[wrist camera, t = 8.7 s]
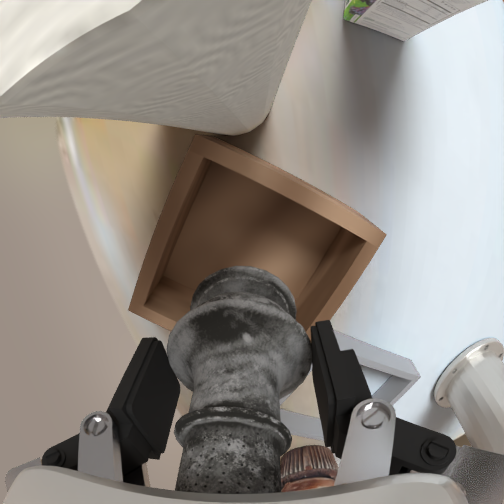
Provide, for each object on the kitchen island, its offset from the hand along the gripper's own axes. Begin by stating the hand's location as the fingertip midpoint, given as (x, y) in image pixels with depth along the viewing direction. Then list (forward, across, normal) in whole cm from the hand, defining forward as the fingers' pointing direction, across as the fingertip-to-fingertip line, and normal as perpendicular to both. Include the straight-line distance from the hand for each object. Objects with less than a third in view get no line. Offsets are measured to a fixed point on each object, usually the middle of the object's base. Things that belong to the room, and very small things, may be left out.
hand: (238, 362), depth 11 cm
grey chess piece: (+4, 0, 0) cm, 4 cm away
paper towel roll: (+14, 0, -12) cm, 19 cm away
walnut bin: (+14, 0, 0) cm, 14 cm away
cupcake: (+14, -4, +35) cm, 38 cm away
